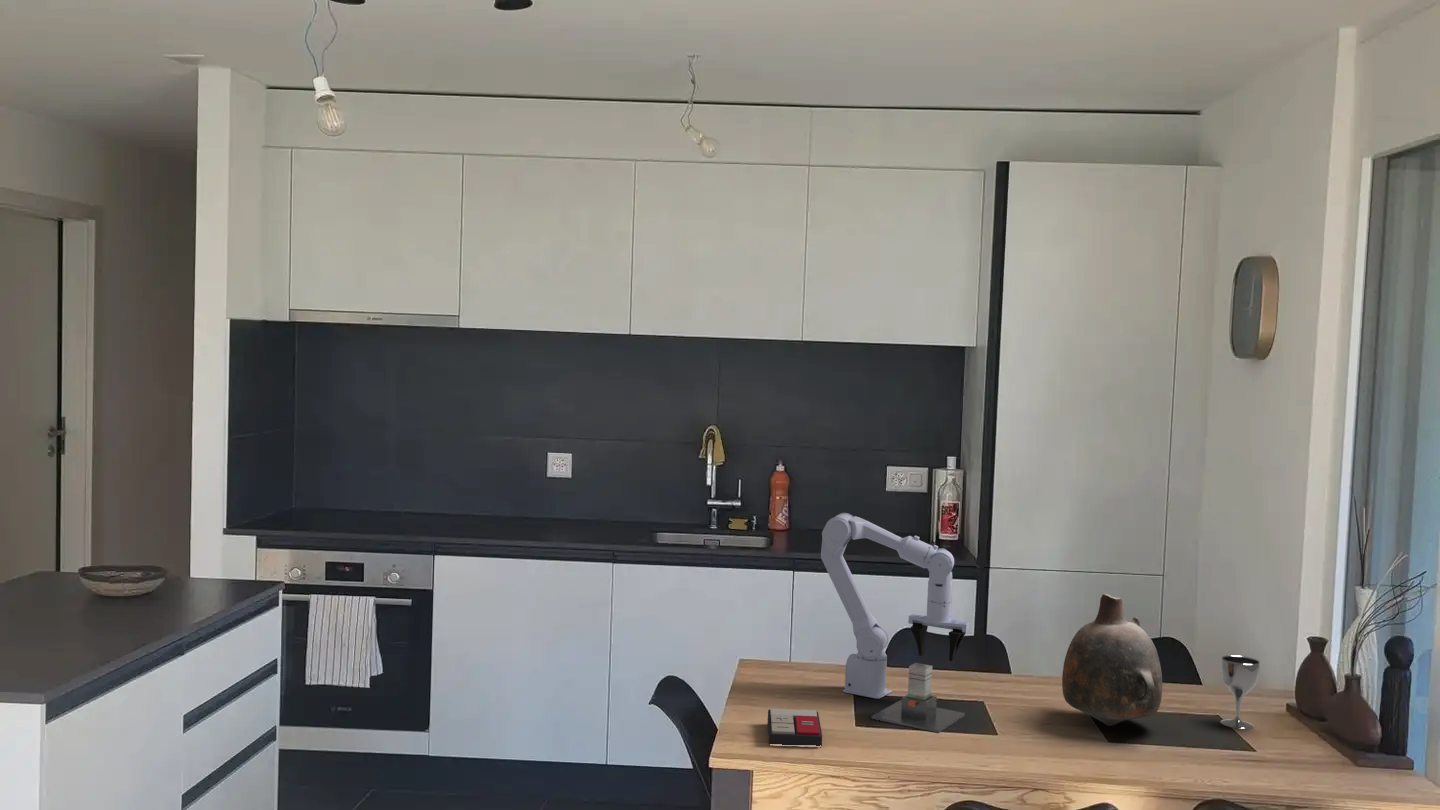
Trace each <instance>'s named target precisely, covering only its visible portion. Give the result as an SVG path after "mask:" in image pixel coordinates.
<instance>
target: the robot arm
mask: <svg viewBox="0 0 1440 810" xmlns="http://www.w3.org/2000/svg"><path fill="white" fill-rule="evenodd" d="M821 537H822V539H821V549H820V558H821V561H822V563H823V565H824V567H825V569H826V572H827V574H828V576H829V578H830V579H831V581H832V584H833V586H834V588H835V590H836V592H837V595H838V596H839V599H840V601H841V602H842V604H843V607H844V609H845V611H846V613H847V615H848V617H849V620H850V622H851V625H852V630H853V635H854V637H855V640H856V649H857V650H856V651H857V653H851V654H849V656H848V657H847V659H846V663H845V671H844V672H845V673H844V676H845V677H844V689H843V693H847V694H852V695H856V696H861V697H866V698H872V699H876V700H878V699H879V700H880V699H881V698H883V697H885V696H887V695H889V694H890V693H892V690H893V689H888V688H886V684H887V683H886V682H887V662H888V661H887V660H888V655H887V654H886V652H885V650H884V649H885V648H886V647H887V645H888V643H889V635H888V632H887V631H886V630H885V629H884V628H883V627H882V626H881V625H879V623H878V621H877V619H876V617H874V616H873V614H871V611H870V609H869V607H868V605H867V603H866V601H865V599H864V597H863V595H862V593H861V591H860V589H859V586H858V584H857V582H856V580H855V577H854V576H853V574H852V572H851V570H850V568H849V566H848V564H847V561H846V560H845V558H844V553H845V551H846V548H847V545H848V543H849V541H850V540H851V539H852V540H859V539H866V540H867V539H868V540H870V541H873V542H875V543H878V544H880V545H883V546H885V547H887V548H890V549H893V550H894V551H897V553H898V556H899V558H900V559H903V560H904V561H907V562H909V563H911V564H912V565H915V566H918V567H920V568H922V569H927V570H928V573H929V574H928V575H929V576H928V581H927V597H926V601H927V602H926V615H920V614H909V615H908V621H907V622H908V624H909V625H912V626H910V630H911V632H912V634H913V637H914V639H915V643H916V646H917V649H918V656H920V657H922V656H924V655H925V654H926V641H927V633H928V628H929V627H931V628H932V627H933V628H937V629H938V628H940V629H945V630H951V631H949V632H948V638H949V656H948V660H949V662H954V661H955V660H956V659H957V658H956V657H957V655H958V649H959V647H960V645H961V643H962V641H963V639H964V638H965V635H966V633H968V632H970V622H963V621H961V620H956V619H953V618H952V601H953V600H952V599H953V571H952V570H953V568H954V566H955V558H954V556H953V554H952V553H951V552H950V551H948V550H947V549H946V548H943V547H942V548H939V546H938V545H936V544H934V545H932V544H929V543H926V542H925V541H922V540H920V536H918V535H914V536H912V535H908V536H905V537H902V536H899V535H896V534H895V533H893V532H891V531H888V530H886V529H885V528H883V527H880V526H879V525H877V524H874V523H873V522H870V521H869V520H866V519H864V518H862V517H859V516H856V515H855V516H853V515H852V514H850V513H847V512H841V513H839V514H837V515H835V516H834V517H832V518H830V519H829V520H828V521H827V522H826V524H825V526H824V527H823V530H822V532H821Z"/></svg>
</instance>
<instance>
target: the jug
mask: <svg viewBox="0 0 1440 810" xmlns="http://www.w3.org/2000/svg"><path fill="white" fill-rule="evenodd" d="M1124 614H1125V613H1124V610H1123V599H1122V598H1121V597H1114V596H1111V595H1110V594H1107V593H1103V594H1102V595H1101V597H1100V600H1099V607H1098V611H1097V615H1096V617H1095V619H1094V620H1092V621H1090V622H1088V623H1085V624H1084V625H1083V626H1081V628H1079V629H1078V630H1077V631H1076V633H1075V634H1074V636H1073V637H1072V639H1071V641H1070V643H1069V645H1068V648H1067V650H1066V653H1065V657H1064V662H1063V666H1062V667H1063V668H1062V675H1061V676H1062V677H1061V680H1062V681H1061V682H1062V683H1061V687H1062V689H1061V690H1062V694H1063V695H1062V696H1063V698H1064V700H1065V702H1066V703H1067V704H1068V705H1069V706H1070V707H1072V708H1074V709H1075V710H1077V711H1080V712H1082V713H1084V714H1086V715H1087V716H1088V715H1089V716H1090V717H1092V718H1094V719H1097V720H1098V721H1099V722H1101V723H1103V724H1104V725H1106V726H1108V727H1111V726H1115V725H1117V724H1119V723H1121V722H1124V721H1128V720H1136V719H1145V718H1149V717H1153V716H1154V715H1156V714H1157V712H1158V710H1159V709H1160V707H1161V703H1162V698H1163V697H1162V696H1163V675H1162V673H1163V672H1162V667H1161V662H1160V657H1159V655H1158V654H1159V653H1158V651H1157V648H1156V646H1155V645H1156V644H1154V642H1153V640H1152V638H1151V637H1150V636H1149V634H1147V632H1146V631H1145V630H1144V629H1143V628H1142V627H1140V626H1141V622H1140V620H1139V618H1138V617H1137V616H1135V617H1133V618H1132V620H1131V621H1128V620H1126V618H1125V615H1124Z"/></svg>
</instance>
